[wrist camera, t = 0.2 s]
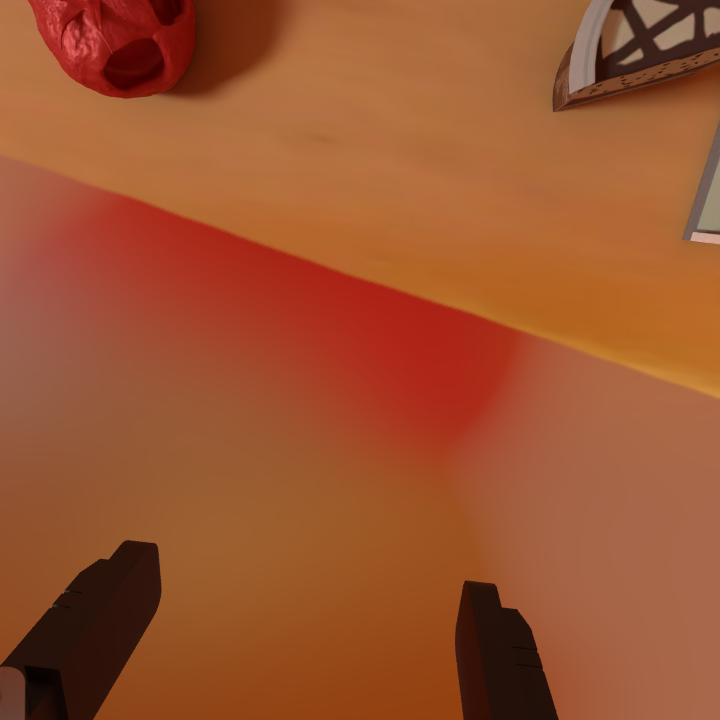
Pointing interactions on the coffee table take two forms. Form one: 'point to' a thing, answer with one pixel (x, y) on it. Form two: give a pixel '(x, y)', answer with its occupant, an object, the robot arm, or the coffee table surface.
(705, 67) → the food container
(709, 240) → the sorting board
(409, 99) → the coffee table surface
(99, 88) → the pomegranate
